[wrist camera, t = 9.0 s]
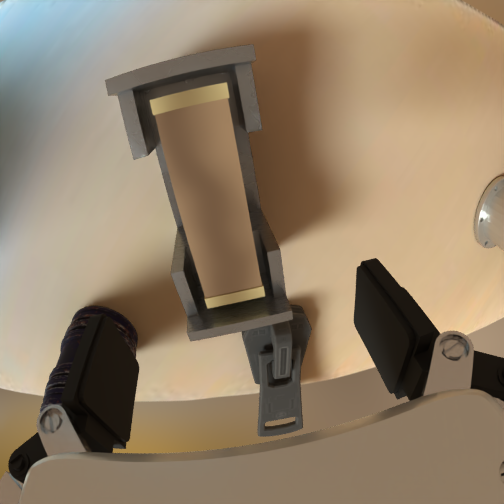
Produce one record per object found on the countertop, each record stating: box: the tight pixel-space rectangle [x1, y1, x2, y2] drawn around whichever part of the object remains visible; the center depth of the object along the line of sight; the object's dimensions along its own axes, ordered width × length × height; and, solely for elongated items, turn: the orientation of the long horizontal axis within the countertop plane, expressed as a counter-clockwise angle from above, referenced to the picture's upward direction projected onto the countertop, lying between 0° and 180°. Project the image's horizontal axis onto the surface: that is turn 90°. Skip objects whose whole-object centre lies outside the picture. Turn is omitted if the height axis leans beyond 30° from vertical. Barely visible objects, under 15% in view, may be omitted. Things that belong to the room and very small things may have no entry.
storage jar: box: [40, 306, 138, 413], centre depth 29 cm, size 10×10×15 cm
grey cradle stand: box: [105, 44, 293, 341], centre depth 23 cm, size 8×20×11 cm, turn 9°
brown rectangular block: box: [150, 82, 265, 308], centre depth 22 cm, size 5×16×5 cm, turn 9°
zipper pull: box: [242, 305, 312, 436], centre depth 41 cm, size 9×7×25 cm
